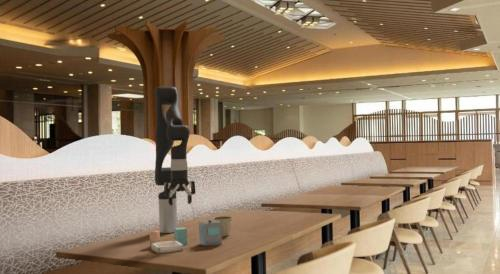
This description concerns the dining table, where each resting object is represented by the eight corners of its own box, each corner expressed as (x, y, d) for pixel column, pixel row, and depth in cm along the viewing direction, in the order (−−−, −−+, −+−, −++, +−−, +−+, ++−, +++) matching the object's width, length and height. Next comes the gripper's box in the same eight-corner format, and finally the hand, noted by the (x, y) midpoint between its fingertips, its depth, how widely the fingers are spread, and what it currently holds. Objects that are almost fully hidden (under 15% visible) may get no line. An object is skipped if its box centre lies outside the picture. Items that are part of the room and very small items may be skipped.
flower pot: (215, 237, 246) (215, 219, 246) (211, 234, 255) (211, 217, 255) (234, 236, 248) (234, 218, 248) (230, 233, 257) (229, 215, 257)
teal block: (174, 243, 235) (174, 228, 235) (184, 242, 237) (183, 227, 237) (177, 245, 231) (177, 229, 231) (187, 244, 233) (186, 228, 233)
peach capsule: (148, 246, 230) (148, 231, 230) (158, 245, 232) (158, 229, 232) (151, 248, 226) (150, 232, 226) (161, 247, 228) (160, 231, 228)
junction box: (199, 244, 232) (198, 220, 232) (216, 241, 235) (215, 218, 235) (205, 246, 225) (204, 222, 225) (222, 244, 229) (221, 220, 229)
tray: (151, 248, 225) (151, 243, 225) (175, 245, 229) (175, 240, 229) (158, 253, 215) (157, 247, 215) (183, 250, 219) (183, 244, 219)
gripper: (191, 167, 241) (192, 202, 241) (161, 169, 234) (162, 205, 234) (196, 168, 234) (197, 204, 234) (166, 170, 228) (167, 206, 228)
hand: (180, 204), depth 234 cm, fingers open, 8 cm apart
